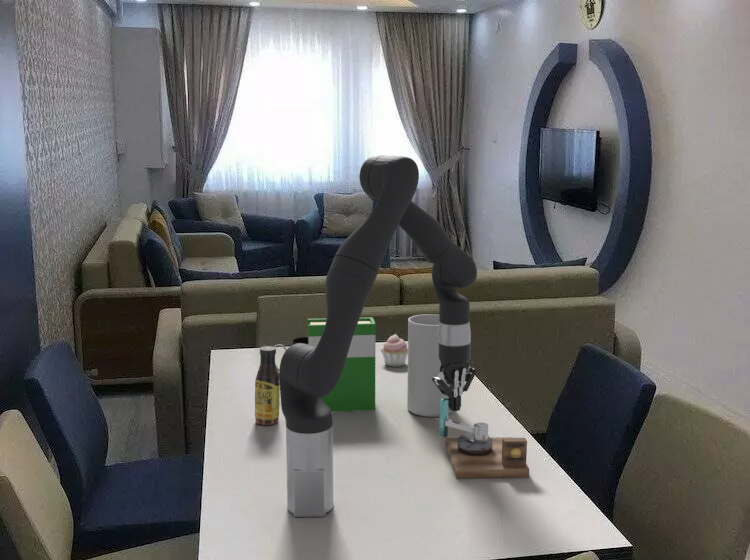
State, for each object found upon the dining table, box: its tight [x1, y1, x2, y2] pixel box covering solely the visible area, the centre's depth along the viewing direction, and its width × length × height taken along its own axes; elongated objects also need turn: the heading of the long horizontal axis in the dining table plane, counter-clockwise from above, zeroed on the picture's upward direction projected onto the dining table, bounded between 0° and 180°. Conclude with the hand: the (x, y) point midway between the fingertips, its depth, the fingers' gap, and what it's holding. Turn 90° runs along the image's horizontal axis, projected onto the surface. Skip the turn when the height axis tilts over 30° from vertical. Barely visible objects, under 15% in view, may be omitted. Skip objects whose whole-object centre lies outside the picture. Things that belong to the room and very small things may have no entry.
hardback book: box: [307, 316, 377, 413], centre depth 215 cm, size 18×7×24 cm, turn 96°
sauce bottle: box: [254, 345, 281, 426], centre depth 204 cm, size 7×6×20 cm
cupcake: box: [380, 333, 408, 368], centre depth 255 cm, size 9×9×10 cm
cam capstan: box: [438, 398, 493, 455], centre depth 184 cm, size 14×8×10 cm, turn 53°
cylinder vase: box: [406, 313, 453, 418], centre depth 213 cm, size 12×12×25 cm
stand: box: [445, 436, 530, 480], centre depth 181 cm, size 18×16×8 cm
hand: (454, 410), depth 190 cm, fingers closed
